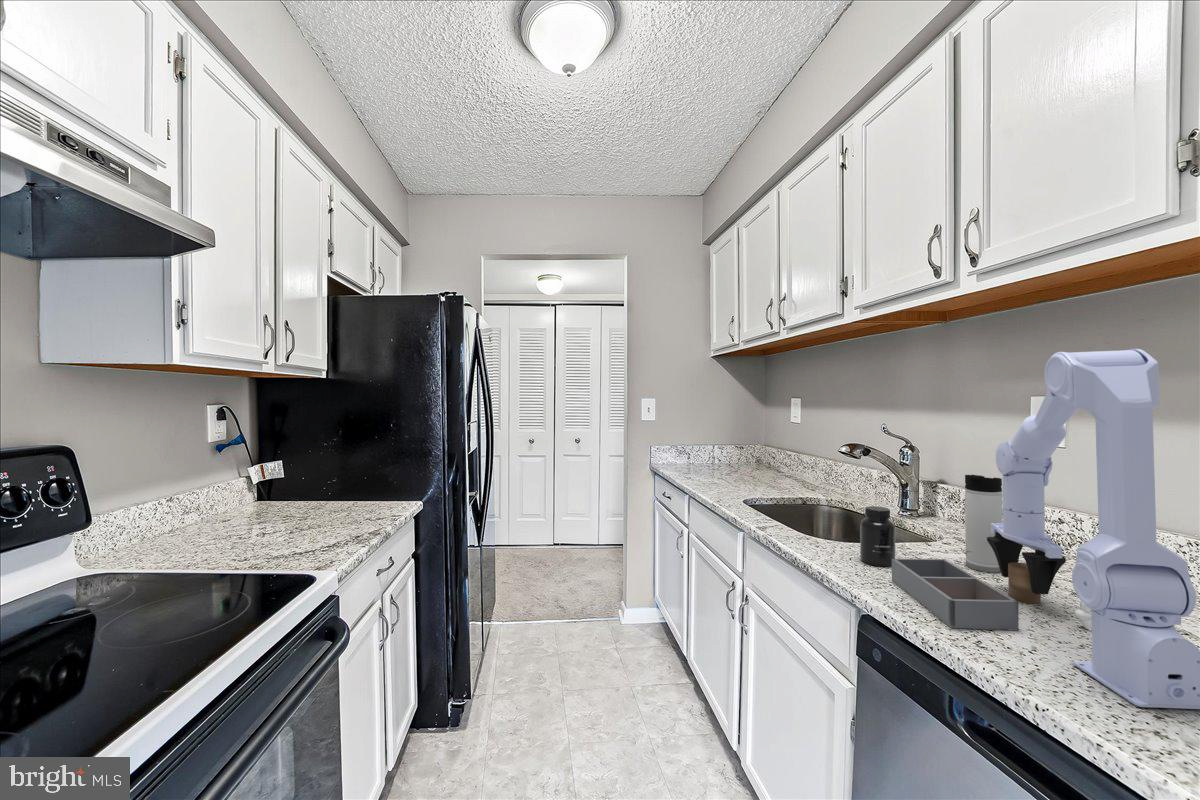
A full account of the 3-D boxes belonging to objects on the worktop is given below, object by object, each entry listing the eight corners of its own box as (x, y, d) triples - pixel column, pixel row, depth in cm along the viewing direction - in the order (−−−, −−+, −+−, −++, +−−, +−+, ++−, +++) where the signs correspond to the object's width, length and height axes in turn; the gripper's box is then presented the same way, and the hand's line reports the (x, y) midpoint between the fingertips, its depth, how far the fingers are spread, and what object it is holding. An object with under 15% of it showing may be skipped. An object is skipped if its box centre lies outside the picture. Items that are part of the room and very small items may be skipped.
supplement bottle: (881, 569, 106) (880, 513, 106) (853, 560, 112) (852, 507, 112) (902, 564, 109) (902, 509, 108) (874, 555, 115) (873, 503, 115)
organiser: (1018, 630, 79) (1018, 601, 79) (951, 628, 80) (950, 600, 80) (945, 581, 99) (944, 559, 98) (891, 580, 100) (891, 558, 100)
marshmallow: (1116, 629, 78) (1112, 601, 78) (1121, 633, 77) (1118, 605, 77) (1075, 627, 80) (1072, 599, 80) (1080, 631, 79) (1076, 603, 79)
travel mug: (959, 566, 106) (957, 473, 106) (974, 560, 110) (973, 470, 109) (993, 575, 101) (992, 477, 100) (1008, 569, 104) (1007, 474, 104)
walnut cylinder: (1047, 605, 87) (1046, 571, 87) (1020, 604, 88) (1019, 570, 88) (1028, 594, 92) (1028, 562, 91) (1002, 594, 92) (1002, 562, 92)
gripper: (1082, 520, 82) (1082, 602, 82) (1018, 500, 96) (1018, 570, 96) (1035, 520, 82) (1036, 601, 83) (978, 500, 97) (979, 569, 97)
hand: (1024, 584), depth 90 cm, fingers open, 7 cm apart
